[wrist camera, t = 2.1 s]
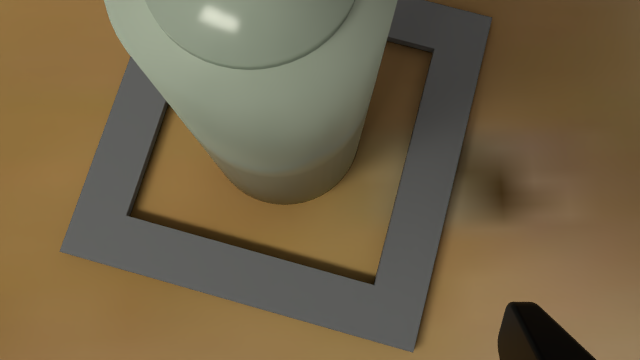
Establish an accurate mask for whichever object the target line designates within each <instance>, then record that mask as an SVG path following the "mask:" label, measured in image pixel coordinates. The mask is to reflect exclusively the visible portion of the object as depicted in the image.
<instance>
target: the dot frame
mask: <svg viewBox="0 0 640 360" xmlns="http://www.w3.org/2000/svg"><path fill="white" fill-rule="evenodd" d="M491 20H492V17H488V16H484V15H480V14H476V13H472V12H468V11H464V10H460V9H456V8H452V7H449V6H445V5H441V4H437V3H433V2H429V1H425V0H397V5H396V8H395V12H394V16H393V19H392V23H391V27H390V30H389V34H388V38H387V41H390V42H394V43H397V44H401V45H405V46H409V47H413V48H417V49H421V50H425V51H428V52H432V53H433V54H432V58H431V62H430V66H429V70H428V74H427V77H426V81H425V85H424V89H423V93H422V97H421V101H420V105H419V109H418V113H417V117H416V121H415V125H414V128H413V132H412V136H411V140H410V144H409V148H408V152H407V156H406V160H405V164H404V168H403V172H402V176H401V180H400V183H399V187H398V191H397V195H396V199H395V203H394V207H393V211H392V215H391V219H390V223H389V227H388V231H387V235H386V238H385V242H384V246H383V250H382V254H381V258H380V262H379V266H378V270H377V274H376V278H375V282H374V285H372V284H368V283H365V282H361V281H357V280H354V279H350V278H347V277H343V276H340V275H336V274H332V273H329V272H325V271H322V270H318V269H315V268H311V267H307V266H304V265H300V264H297V263H293V262H290V261H286V260H283V259H279V258H275V257H272V256H268V255H265V254H261V253H258V252H254V251H250V250H247V249H243V248H240V247H236V246H233V245H229V244H226V243H222V242H218V241H215V240H211V239H208V238H204V237H201V236H197V235H193V234H190V233H186V232H183V231H179V230H176V229H172V228H169V227H165V226H161V225H158V224H154V223H151V222H147V221H144V220H140V219H136V218H133V217H130V214H131V211H132V208H133V205H134V202H135V199H136V196H137V193H138V190H139V188H140V185H141V182H142V179H143V176H144V173H145V170H146V167H147V164H148V161H149V159H150V156H151V153H152V150H153V147H154V144H155V141H156V138H157V135H158V132H159V130H160V127H161V124H162V121H163V118H164V115H165V112H166V109H167V106H168V102H167V101H166V100H165V99H164V97H163V96H162V95H161V94H160V92H159V91H158V90H157V89H156V87H155V86H154V85H153V84H152V82H151V81H150V80H149V78H148V77H147V76H146V75H145V73H144V72H143V71H142V70H141V68H140V67H139V66H138V65H137V63H136V62H135V61H134V60H133V58H132V57H130V60H129V62H128V65H127V68H126V71H125V73H124V76H123V79H122V82H121V84H120V87H119V90H118V93H117V95H116V98H115V101H114V104H113V106H112V109H111V112H110V115H109V117H108V120H107V123H106V126H105V128H104V131H103V134H102V137H101V139H100V142H99V145H98V148H97V150H96V153H95V156H94V158H93V161H92V164H91V167H90V169H89V172H88V175H87V178H86V180H85V183H84V186H83V189H82V191H81V194H80V197H79V200H78V202H77V205H76V208H75V211H74V213H73V216H72V219H71V222H70V224H69V227H68V230H67V233H66V235H65V238H64V241H63V244H62V246H61V249H60V252H63V253H67V254H70V255H74V256H77V257H81V258H84V259H88V260H91V261H95V262H98V263H102V264H105V265H109V266H112V267H116V268H119V269H123V270H126V271H130V272H133V273H137V274H140V275H144V276H147V277H151V278H154V279H158V280H161V281H165V282H168V283H172V284H175V285H179V286H182V287H186V288H189V289H193V290H196V291H200V292H203V293H207V294H210V295H214V296H217V297H221V298H224V299H228V300H231V301H235V302H238V303H242V304H245V305H249V306H252V307H256V308H259V309H263V310H266V311H270V312H273V313H277V314H280V315H284V316H287V317H291V318H294V319H298V320H301V321H305V322H308V323H312V324H315V325H319V326H322V327H326V328H329V329H333V330H336V331H340V332H343V333H347V334H350V335H354V336H357V337H361V338H364V339H368V340H371V341H375V342H378V343H382V344H385V345H389V346H392V347H396V348H399V349H403V350H406V351H410V352H413V351H414V347H415V342H416V338H417V334H418V330H419V325H420V321H421V317H422V313H423V308H424V304H425V300H426V296H427V292H428V287H429V283H430V279H431V275H432V270H433V266H434V262H435V258H436V253H437V249H438V245H439V241H440V236H441V232H442V228H443V224H444V219H445V215H446V211H447V207H448V203H449V198H450V194H451V190H452V186H453V181H454V177H455V173H456V169H457V164H458V160H459V156H460V152H461V147H462V143H463V139H464V135H465V131H466V126H467V122H468V118H469V114H470V109H471V105H472V101H473V97H474V92H475V88H476V84H477V80H478V75H479V71H480V67H481V63H482V58H483V54H484V50H485V46H486V42H487V37H488V33H489V29H490V25H491Z"/></svg>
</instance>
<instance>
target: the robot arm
mask: <svg viewBox="0 0 640 360" xmlns="http://www.w3.org/2000/svg"><path fill="white" fill-rule="evenodd" d="M498 352H499V358H500V360H596V359H595V358H594V357H593V356H592V355H591V354H590V353H589V352H588V351H587V350H585V349H584V348H583V347H582V346H581V345H580V344H579V343H578V342H577V341H576V340H575V339H574V338H573V337H572V336H571V335H569V334H568V333H567V332H566V331H565V330H564V329H563V328H562V327H561V326H560V325H559V324H558V323H557V322H556V321H555V320H554V319H552V318H551V317H550V316H549V315H548V314H547V313H546V312H545V311H544V310H543V309H542V308H541V307H540V306H538V305H537V304H535V303H533V302H510V303H509V304H508V305H507V307H506V309H505V313H504V317H503V320H502V324H501V328H500V331H499V335H498Z"/></svg>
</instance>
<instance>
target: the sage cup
mask: <svg viewBox="0 0 640 360" xmlns="http://www.w3.org/2000/svg"><path fill="white" fill-rule="evenodd" d="M104 2H105V5H106V9H107V12H108V16H109V19H110V21H111V24H112V26H113V28H114V30H115V33H116V35H117V36H118V38H119V40H120V41H121V43H122V44H123V46H124V48H125V49H126V51H127V52H128V53H129V55H130V56H131V57H132V58H133V60H134V61H135V62H136V63H137V65H138V66H139V67H140V68H141V70H142V71H143V72H144V73H145V75H146V76H147V77H148V78H149V80H150V81H151V82H152V84H153V85H154V86H155V87H156V89H157V90H158V91H159V92H160V94H161V95H162V96H163V97H164V99H165V100H166V101H167V102H168V104H169V105H170V106H171V107H172V109H173V110H174V111H175V112H176V114H177V115H178V116H179V118H180V119H181V120H182V121H183V123H184V124H185V125H186V126H187V128H188V129H189V130H190V131H191V133H192V134H193V135H194V136H195V138H196V139H197V140H198V141H199V143H200V144H201V145H202V146H203V148H204V149H205V150H206V152H207V153H208V154H209V155H210V157H211V158H212V159H213V160H214V162H215V163H216V164H217V165H218V167H219V168H220V169H221V170H222V172H223V173H224V174H225V175H226V177H227V178H228V179H229V180H230V181H231V183H233V184H234V185H235V186H236V187H237V188H238V189H239V190H241V191H242V192H244V193H245V194H247V195H249V196H251V197H253V198H255V199H257V200H260V201H263V202H267V203H272V204H281V205H288V204H297V203H303V202H306V201H309V200H312V199H315V198H317V197H319V196H321V195H323V194H324V193H326V192H327V191H329V190H330V189H332V188H333V187H334V186H335V185H336V184H337V183H338V182H339V181H340V180H341V179H342V178H343V177H344V175H345V174H346V173H347V171H348V170H349V168H350V166H351V164H352V162H353V160H354V157H355V154H356V152H357V148H358V144H359V141H360V137H361V133H362V130H363V126H364V122H365V119H366V115H367V111H368V108H369V104H370V100H371V97H372V93H373V89H374V86H375V82H376V78H377V75H378V71H379V67H380V64H381V60H382V56H383V53H384V49H385V45H386V42H387V38H388V34H389V30H390V27H391V23H392V19H393V16H394V12H395V8H396V5H397V0H104Z"/></svg>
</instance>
